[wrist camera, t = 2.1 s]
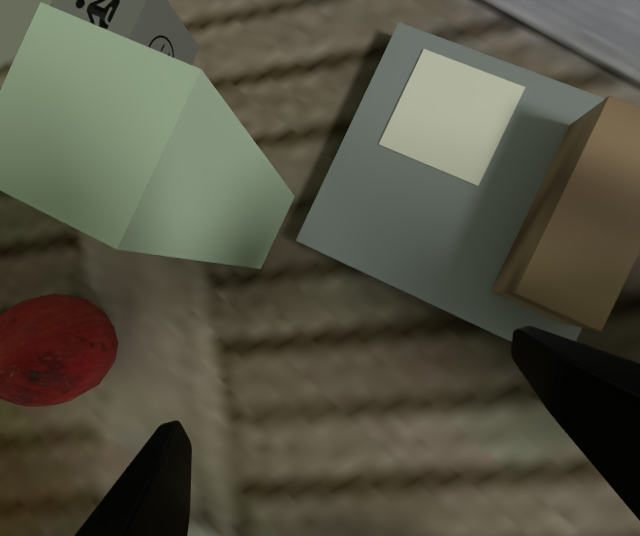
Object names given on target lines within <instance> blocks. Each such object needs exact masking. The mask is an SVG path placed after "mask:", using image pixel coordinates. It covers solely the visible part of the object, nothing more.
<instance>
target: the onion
mask: <svg viewBox="0 0 640 536" xmlns="http://www.w3.org/2000/svg"><path fill="white" fill-rule="evenodd" d="M117 346H118V341H117V337H116V333H115V329H114V326H113V325H112V323H111V322H110V320H109V319H108V317H107V315H106V314H105V313H104V312H103V311H102V310H100V309H99V308H98V307H96V306H95V305H93V304H92V303H91V302H89V301H88V300H86V299H81V298H76V297H72V296H66V295H59V294H53V295H46V296H41V297H37V298H33V299H29V300H26V301H23V302H21V303H19V304H17V305H15V306H13V307H12V308H10V309H9V310H8V311H6V312H5V313H4V314H2V315H1V316H0V399H2V400H5V401H8V402H11V403H14V404H17V405H22V406H47V405H56V404H60V403H64V402H68V401H71V400H72V399H74V398H76V397H78V396H79V395H81V394H83V393H85V392H86V391H88V390H90V389H92V388H93V387H95V386H97V385H98V384H100V382H101V381H102V379H103V378H104V377H105V375H106V374H107V372H108V371H109V369H110V368H111V366H112V365H113V363H114V362H115V359H116V353H117Z"/></svg>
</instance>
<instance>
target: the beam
mask: <svg viewBox="0 0 640 536" xmlns="http://www.w3.org/2000/svg"><path fill="white" fill-rule="evenodd" d="M639 252H640V107H639V106H637V105H634V104H631V103H629V102H626V101H623V100H620V99H618V98H615V97H612V96H608V97H607V98H606V99H604V100H603V101H602V102H600V103H599V104H598V105H596V106H595V107H593V108H592V109H591V110H589V111H588V112H587V113H585V114H584V115H583V116H581V117H580V118H579V119H577V120H576V121H575V122H573V123H572V124H571V125H570V126H569V128H568V130H567V132H566V134H565V136H564V138H563V140H562V143H561V145H560V147H559V149H558V151H557V153H556V155H555V157H554V159H553V161H552V163H551V166H550V168H549V170H548V172H547V174H546V176H545V178H544V180H543V182H542V184H541V186H540V189H539V191H538V193H537V195H536V197H535V199H534V201H533V203H532V205H531V207H530V209H529V212H528V214H527V216H526V218H525V220H524V222H523V224H522V226H521V228H520V230H519V232H518V235H517V237H516V239H515V241H514V243H513V245H512V247H511V249H510V251H509V253H508V255H507V258H506V260H505V262H504V264H503V266H502V268H501V270H500V272H499V274H498V276H497V278H496V281H495V283H494V285H493V287H492V289H491V292H493V293H495V294H498V295H500V296H502V297H504V298H506V299H509V300H511V301H513V302H515V303H518V304H520V305H522V306H524V307H526V308H529V309H531V310H533V311H535V312H537V313H540V314H542V315H544V316H546V317H548V318H551V319H553V320H555V321H557V322H559V323H562V324H566V325H571V326H576V327H581V328H586V329H591V330H596V331H600V332H601V331H602V329H603V327H604V325H605V323H606V321H607V319H608V317H609V315H610V313H611V310H612V308H613V306H614V304H615V302H616V300H617V298H618V296H619V294H620V292H621V290H622V288H623V286H624V283H625V281H626V279H627V277H628V275H629V273H630V271H631V269H632V267H633V265H634V263H635V261H636V259H637V256H638V254H639Z"/></svg>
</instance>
